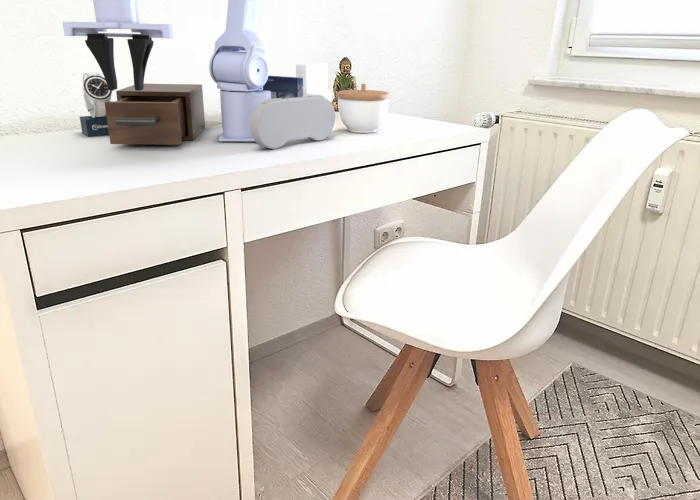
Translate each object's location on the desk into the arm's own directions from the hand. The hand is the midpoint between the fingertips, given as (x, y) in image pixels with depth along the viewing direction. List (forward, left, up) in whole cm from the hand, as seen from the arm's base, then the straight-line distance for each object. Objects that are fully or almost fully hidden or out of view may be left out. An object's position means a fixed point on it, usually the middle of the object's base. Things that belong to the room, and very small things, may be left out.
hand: (126, 89), depth 81 cm
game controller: (-25, -13, -11) cm, 30 cm away
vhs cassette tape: (-18, -38, -11) cm, 43 cm away
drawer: (0, -12, -9) cm, 15 cm away
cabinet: (0, -23, -10) cm, 25 cm away
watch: (+12, -22, -11) cm, 27 cm away
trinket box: (-39, -28, -11) cm, 49 cm away
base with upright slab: (-29, -47, -11) cm, 56 cm away
